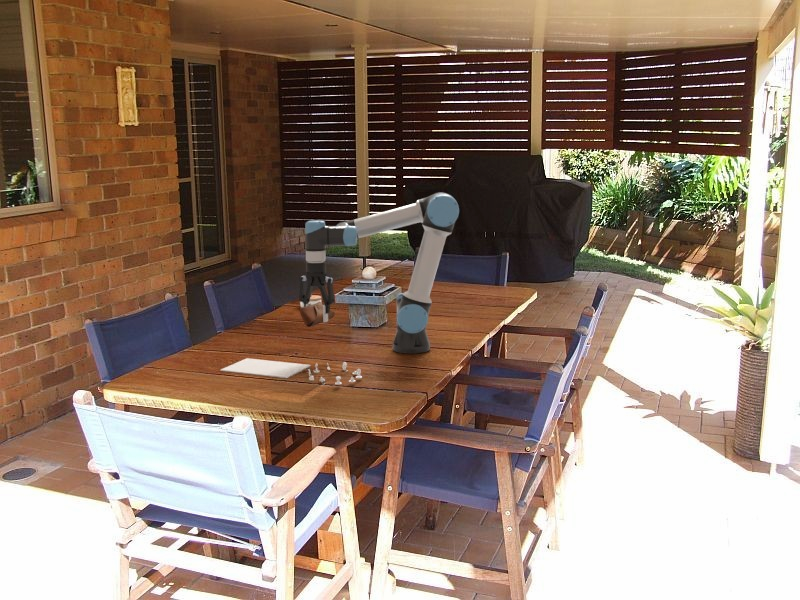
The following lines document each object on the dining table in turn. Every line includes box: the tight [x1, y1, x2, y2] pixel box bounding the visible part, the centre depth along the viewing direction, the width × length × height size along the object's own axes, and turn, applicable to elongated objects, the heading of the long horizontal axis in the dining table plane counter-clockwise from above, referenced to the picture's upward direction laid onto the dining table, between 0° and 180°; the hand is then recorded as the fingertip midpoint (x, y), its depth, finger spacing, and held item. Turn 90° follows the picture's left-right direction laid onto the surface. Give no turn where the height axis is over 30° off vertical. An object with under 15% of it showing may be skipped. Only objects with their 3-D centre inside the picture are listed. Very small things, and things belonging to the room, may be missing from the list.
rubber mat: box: [220, 357, 312, 379], centre depth 313 cm, size 28×18×1 cm, turn 68°
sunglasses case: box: [298, 301, 336, 328], centre depth 323 cm, size 18×7×7 cm
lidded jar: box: [299, 293, 323, 308], centre depth 414 cm, size 11×11×9 cm
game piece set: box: [307, 361, 363, 385], centre depth 302 cm, size 19×20×4 cm
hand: (317, 320), depth 323 cm, fingers closed on sunglasses case, 7 cm apart
